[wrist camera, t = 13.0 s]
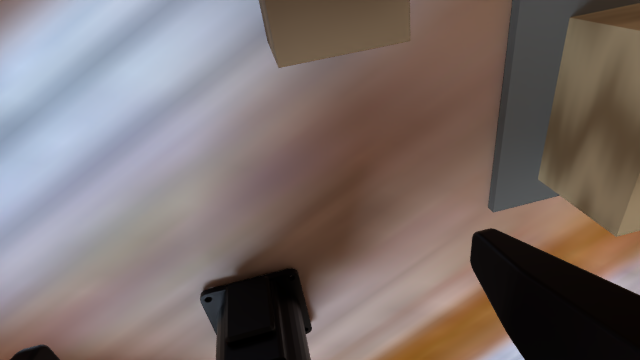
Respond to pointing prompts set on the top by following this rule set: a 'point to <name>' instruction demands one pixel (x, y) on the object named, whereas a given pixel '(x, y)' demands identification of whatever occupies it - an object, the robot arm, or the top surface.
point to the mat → (531, 95)
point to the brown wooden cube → (332, 27)
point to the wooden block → (598, 120)
